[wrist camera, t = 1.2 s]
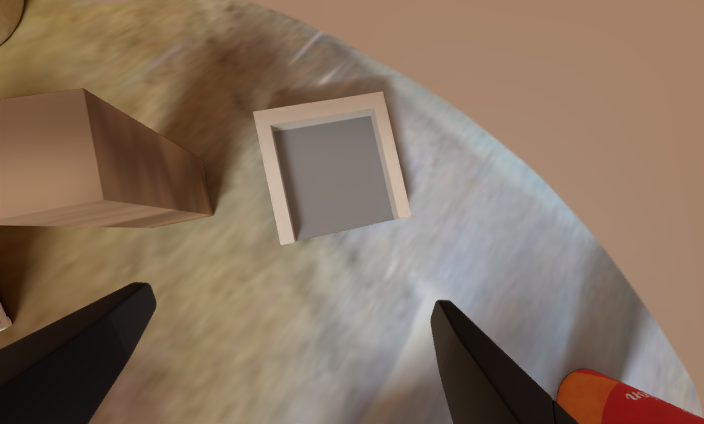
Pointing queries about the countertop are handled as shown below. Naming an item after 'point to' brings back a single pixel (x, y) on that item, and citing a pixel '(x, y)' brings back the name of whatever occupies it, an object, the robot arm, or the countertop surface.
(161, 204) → the walnut block
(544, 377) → the countertop surface
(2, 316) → the syrup box
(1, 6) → the sugar bowl
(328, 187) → the shallow rectangular tray
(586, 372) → the paper cup
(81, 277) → the countertop surface
